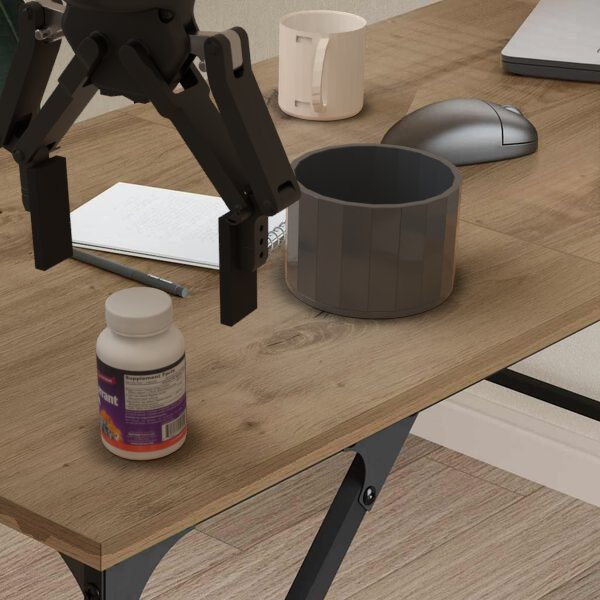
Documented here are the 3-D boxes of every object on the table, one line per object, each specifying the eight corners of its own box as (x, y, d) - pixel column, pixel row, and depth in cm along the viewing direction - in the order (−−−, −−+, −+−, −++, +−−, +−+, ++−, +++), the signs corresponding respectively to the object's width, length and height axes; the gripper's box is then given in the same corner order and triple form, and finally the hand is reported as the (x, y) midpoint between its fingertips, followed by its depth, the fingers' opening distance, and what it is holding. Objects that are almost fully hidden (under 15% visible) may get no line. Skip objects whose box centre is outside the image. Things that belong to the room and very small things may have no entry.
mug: (291, 90, 147) (292, 7, 143) (370, 98, 145) (374, 14, 141) (259, 125, 137) (260, 36, 133) (345, 134, 135) (349, 44, 131)
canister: (406, 335, 97) (413, 221, 93) (253, 290, 103) (253, 182, 99) (480, 269, 107) (489, 164, 103) (337, 232, 113) (341, 132, 109)
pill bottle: (95, 422, 85) (87, 286, 81) (178, 411, 87) (175, 277, 82) (107, 468, 81) (99, 326, 76) (194, 456, 82) (192, 316, 78)
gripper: (370, -62, 67) (357, 314, 76) (-6, -112, 78) (25, 221, 88) (292, -33, 61) (289, 370, 71) (-101, -91, 72) (-58, 263, 82)
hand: (143, 288), depth 79 cm, fingers open, 13 cm apart
